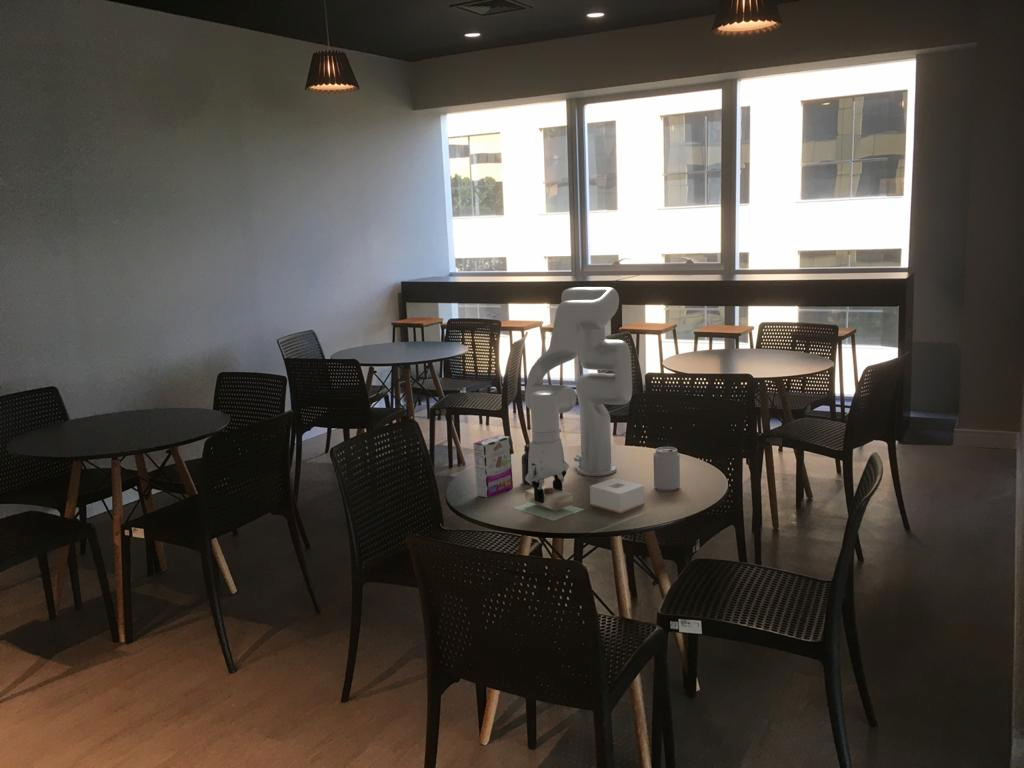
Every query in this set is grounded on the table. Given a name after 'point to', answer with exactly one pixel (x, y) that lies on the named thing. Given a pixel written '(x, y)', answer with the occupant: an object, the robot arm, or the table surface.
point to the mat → (548, 511)
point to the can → (666, 469)
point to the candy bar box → (493, 466)
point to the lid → (551, 498)
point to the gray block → (617, 495)
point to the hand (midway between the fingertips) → (548, 498)
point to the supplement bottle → (525, 465)
